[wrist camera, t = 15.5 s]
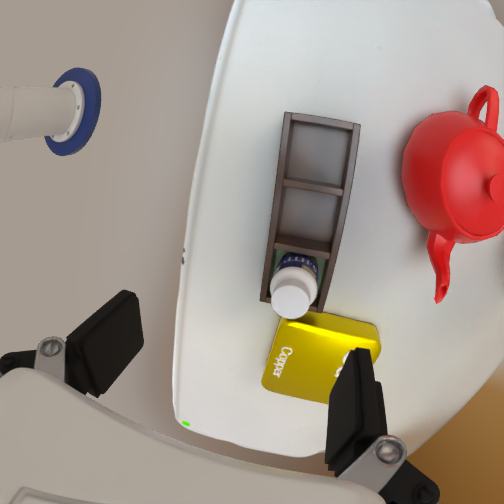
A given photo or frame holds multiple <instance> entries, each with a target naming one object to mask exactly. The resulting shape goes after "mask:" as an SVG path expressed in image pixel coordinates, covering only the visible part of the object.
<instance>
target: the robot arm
mask: <svg viewBox="0 0 504 504" xmlns="http://www.w3.org/2000/svg"><path fill="white" fill-rule="evenodd" d="M84 107H85V97H84V92H83V89H82V87H81V85H80V84H79V83H77V82H75V81H67V82H64V83H62V84H61V85H60V86H59V87H58V88H56V87H0V142H6V141H11V140H18V139H25V138H32V137H41V136H50V137H51V138H52V139H53V140H54V141H56V142H65V141H67V140H69V139H70V138H71V137H72V136H73V135H74V134H75V132H76V131H77V129H78V127H79V125H80V123H81V120H82V117H83V113H84ZM66 338H67V341H66V342H64V341H63V340H62V339H61V338H59V337H48V338H45V339H43V340H42V341H41V342H40V343H39V345H38V347H37V350H30V351H20V352H10V353H7V354H5V355H4V356H2V357H1V359H0V504H440V503H439V502H438V501H439V497H440V491H439V488H438V486H437V485H436V484H435V483H434V482H433V481H432V480H431V479H429V478H428V477H427V476H425V475H424V474H423V473H422V472H420V471H419V470H418V469H417V468H415V467H414V466H413V465H412V464H411V463H409V462H408V461H407V460H406V456H407V449H406V446H405V444H404V442H403V441H402V440H401V439H399V438H398V437H396V436H392V435H388V433H387V423H386V414H385V406H384V399H383V392H382V386H381V383H380V382H378V381H375V377H374V371H373V364H372V358H371V352H370V349H366V348H359V347H356V348H355V350H351V351H350V352H349V354H348V357H347V359H346V361H345V363H344V365H343V367H342V369H341V371H340V374H339V376H338V378H337V380H336V382H335V384H334V386H333V388H332V390H331V392H330V395H329V409H328V426H327V439H326V451H325V464H328V470H330V471H335V476H336V477H337V478H332V477H328V476H321V475H314V474H308V473H301V472H294V471H288V470H283V469H278V468H273V467H268V466H263V465H258V464H253V463H249V462H245V461H241V460H237V459H233V458H230V457H226V456H223V455H219V454H216V453H213V452H209V451H206V450H203V449H200V448H197V447H194V446H191V445H188V444H186V443H183V442H180V441H178V440H175V439H173V438H170V437H168V436H165V435H163V434H160V433H158V432H155V431H153V430H151V429H149V428H146V427H144V426H142V425H140V424H138V423H136V422H134V421H131V420H129V419H127V418H125V417H123V416H121V415H119V414H117V413H116V412H114V411H112V410H110V409H108V408H106V407H104V406H103V405H101V404H99V403H97V402H96V401H94V400H92V399H90V398H88V397H87V396H86V393H87V392H88V393H89V394H91V395H93V396H94V397H96V398H98V397H99V396H100V394H104V393H105V392H106V391H107V390H108V389H109V387H110V386H111V385H112V384H113V382H114V381H115V380H116V379H117V377H118V376H119V375H120V374H121V373H122V371H123V370H124V369H125V368H126V367H127V365H128V364H129V363H130V362H131V360H132V359H133V358H134V357H135V356H136V354H137V353H138V352H139V351H140V350H141V348H142V347H143V344H144V338H143V331H142V324H141V316H140V308H139V300H138V298H137V297H136V294H135V293H133V292H130V291H127V290H122V291H120V292H119V293H118V294H117V295H115V296H114V297H113V298H112V299H111V300H109V301H108V302H107V303H106V304H105V305H103V306H102V307H101V308H100V309H99V310H97V311H96V312H95V313H94V314H93V315H92V316H90V317H89V318H88V319H87V320H86V321H84V322H83V323H82V324H81V325H80V326H79V327H77V328H76V329H75V330H74V331H73V332H72V333H71V334H69V335H68V336H67V337H66Z"/></svg>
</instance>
